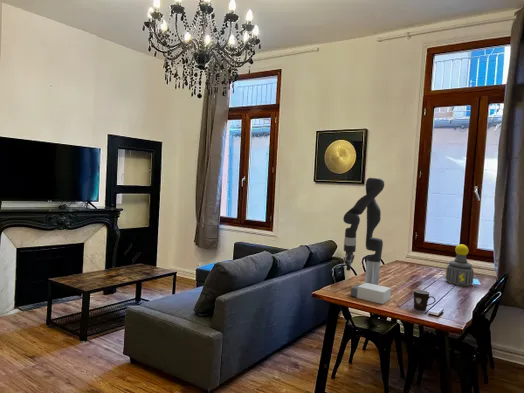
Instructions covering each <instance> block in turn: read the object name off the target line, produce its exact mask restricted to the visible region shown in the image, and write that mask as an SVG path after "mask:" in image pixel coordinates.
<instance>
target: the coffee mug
mask: <svg viewBox="0 0 524 393" xmlns="http://www.w3.org/2000/svg"><path fill="white" fill-rule="evenodd" d="M430 298H432V299H433V300H434V301H433V302H432V303H429V299H430ZM428 303H429V304H428ZM435 303H436V298H435V297H434V296H433V295H432V296H430V292H429V291H427V290H425V289H424V290H423V289H413V308H414V309H415V310H417V311H422V312H423V311H426V310H427V307H428V306H430V305H433V304H435Z"/></svg>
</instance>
